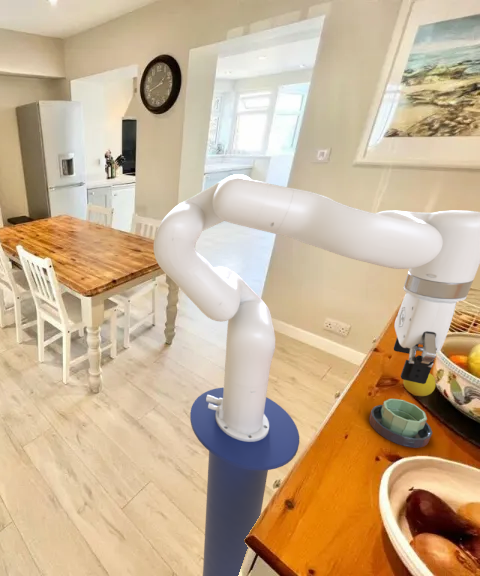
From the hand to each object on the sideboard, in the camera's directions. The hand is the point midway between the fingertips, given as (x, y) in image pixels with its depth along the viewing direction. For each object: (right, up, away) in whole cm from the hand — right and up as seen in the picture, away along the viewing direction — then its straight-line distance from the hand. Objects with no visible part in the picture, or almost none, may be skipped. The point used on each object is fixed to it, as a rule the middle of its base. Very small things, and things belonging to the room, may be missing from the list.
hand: (407, 365), depth 59 cm
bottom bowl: (+10, -18, +12) cm, 24 cm away
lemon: (+22, -13, +20) cm, 33 cm away
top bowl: (+10, -18, +12) cm, 23 cm away
